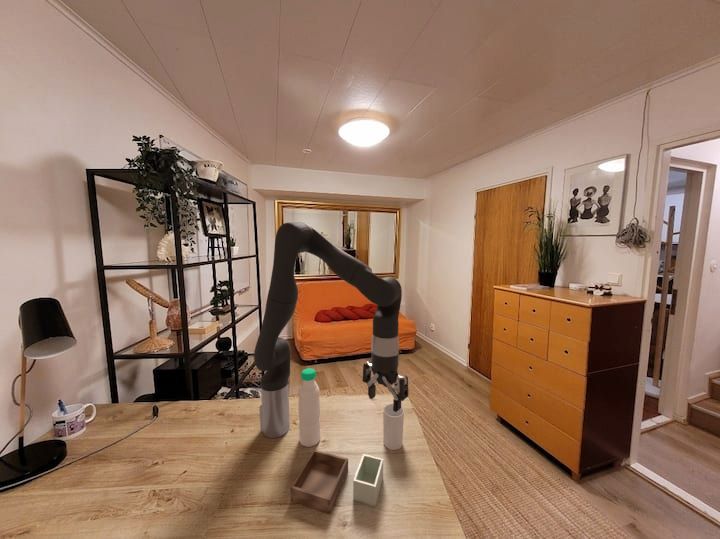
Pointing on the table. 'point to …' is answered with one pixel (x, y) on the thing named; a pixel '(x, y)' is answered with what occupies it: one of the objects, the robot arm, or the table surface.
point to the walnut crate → (320, 481)
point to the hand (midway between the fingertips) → (384, 403)
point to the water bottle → (309, 409)
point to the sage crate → (368, 480)
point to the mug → (393, 427)
